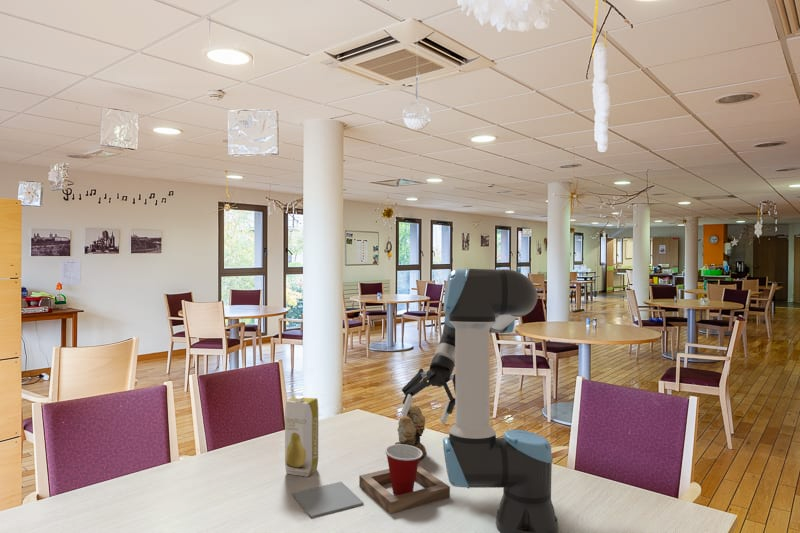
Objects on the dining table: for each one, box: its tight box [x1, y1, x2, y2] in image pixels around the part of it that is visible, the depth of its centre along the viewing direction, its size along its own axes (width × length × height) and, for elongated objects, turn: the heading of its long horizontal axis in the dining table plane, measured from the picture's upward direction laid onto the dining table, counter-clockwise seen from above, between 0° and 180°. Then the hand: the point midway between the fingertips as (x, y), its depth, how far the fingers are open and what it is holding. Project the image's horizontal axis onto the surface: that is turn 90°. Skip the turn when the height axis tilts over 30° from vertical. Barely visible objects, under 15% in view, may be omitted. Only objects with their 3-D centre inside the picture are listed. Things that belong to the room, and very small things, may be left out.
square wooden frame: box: [358, 465, 451, 514], centre depth 151 cm, size 19×19×3 cm
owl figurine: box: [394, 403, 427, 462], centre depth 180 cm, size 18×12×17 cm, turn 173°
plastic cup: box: [384, 444, 423, 496], centre depth 151 cm, size 11×11×12 cm
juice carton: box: [284, 395, 319, 478], centre depth 164 cm, size 9×8×24 cm
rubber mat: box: [291, 481, 365, 518], centre depth 146 cm, size 15×15×1 cm
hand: (422, 418), depth 161 cm, fingers open, 13 cm apart
